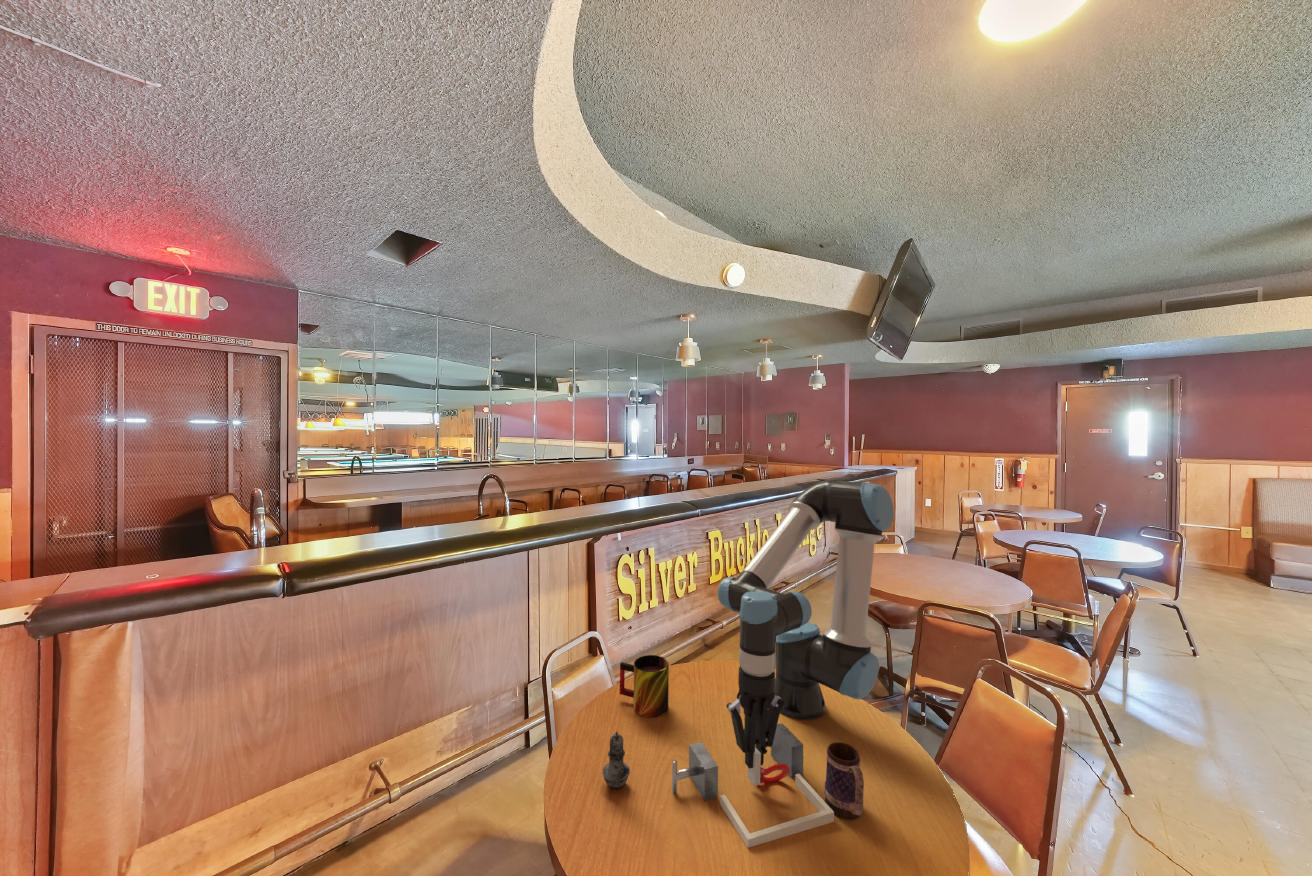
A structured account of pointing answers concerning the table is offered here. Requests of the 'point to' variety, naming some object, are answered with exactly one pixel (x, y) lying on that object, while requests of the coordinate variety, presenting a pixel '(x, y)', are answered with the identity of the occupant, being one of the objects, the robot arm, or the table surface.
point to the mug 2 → (844, 781)
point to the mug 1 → (648, 684)
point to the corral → (788, 827)
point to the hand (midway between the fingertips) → (753, 780)
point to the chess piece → (616, 763)
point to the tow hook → (771, 769)
